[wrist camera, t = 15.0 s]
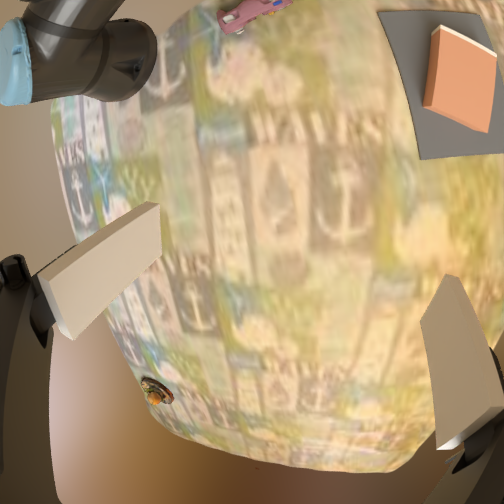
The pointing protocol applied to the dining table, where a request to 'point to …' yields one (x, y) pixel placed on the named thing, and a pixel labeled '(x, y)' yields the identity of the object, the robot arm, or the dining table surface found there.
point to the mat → (415, 76)
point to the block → (460, 79)
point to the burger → (156, 392)
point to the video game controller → (248, 13)
